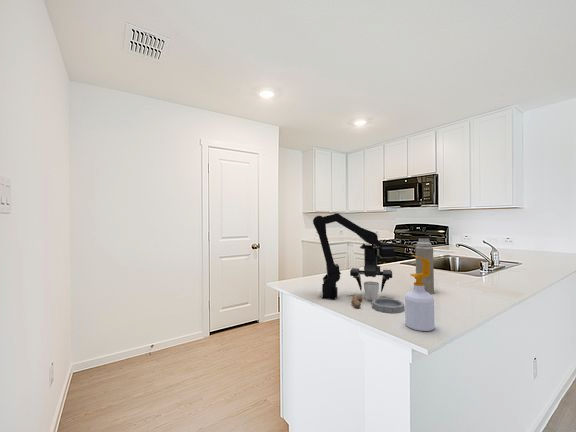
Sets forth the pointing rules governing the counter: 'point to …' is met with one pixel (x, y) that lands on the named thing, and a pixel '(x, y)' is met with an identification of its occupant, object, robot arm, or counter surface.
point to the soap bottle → (420, 302)
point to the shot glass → (371, 290)
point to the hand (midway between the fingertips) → (371, 291)
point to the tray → (388, 305)
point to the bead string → (356, 301)
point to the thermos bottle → (426, 252)
